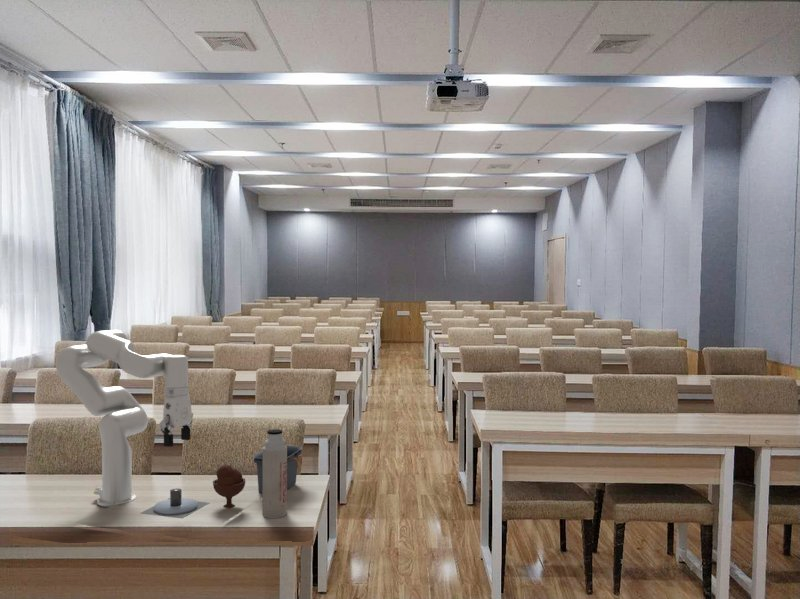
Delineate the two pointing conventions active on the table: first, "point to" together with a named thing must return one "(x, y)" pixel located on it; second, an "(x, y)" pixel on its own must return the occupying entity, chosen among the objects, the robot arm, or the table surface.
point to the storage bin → (291, 466)
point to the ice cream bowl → (228, 483)
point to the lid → (175, 504)
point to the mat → (200, 505)
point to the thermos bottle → (274, 475)
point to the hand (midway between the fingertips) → (177, 442)
